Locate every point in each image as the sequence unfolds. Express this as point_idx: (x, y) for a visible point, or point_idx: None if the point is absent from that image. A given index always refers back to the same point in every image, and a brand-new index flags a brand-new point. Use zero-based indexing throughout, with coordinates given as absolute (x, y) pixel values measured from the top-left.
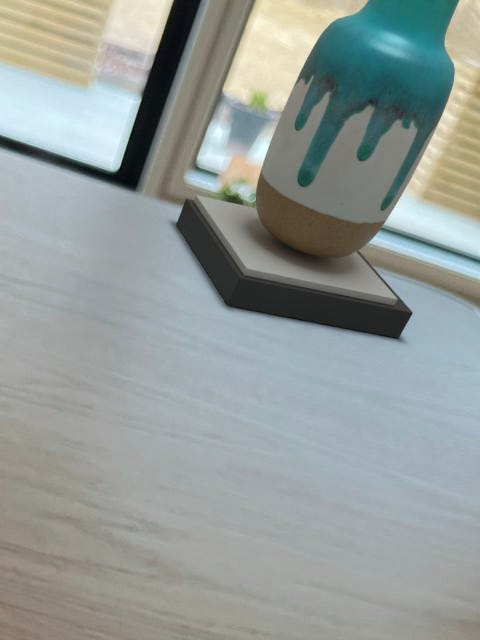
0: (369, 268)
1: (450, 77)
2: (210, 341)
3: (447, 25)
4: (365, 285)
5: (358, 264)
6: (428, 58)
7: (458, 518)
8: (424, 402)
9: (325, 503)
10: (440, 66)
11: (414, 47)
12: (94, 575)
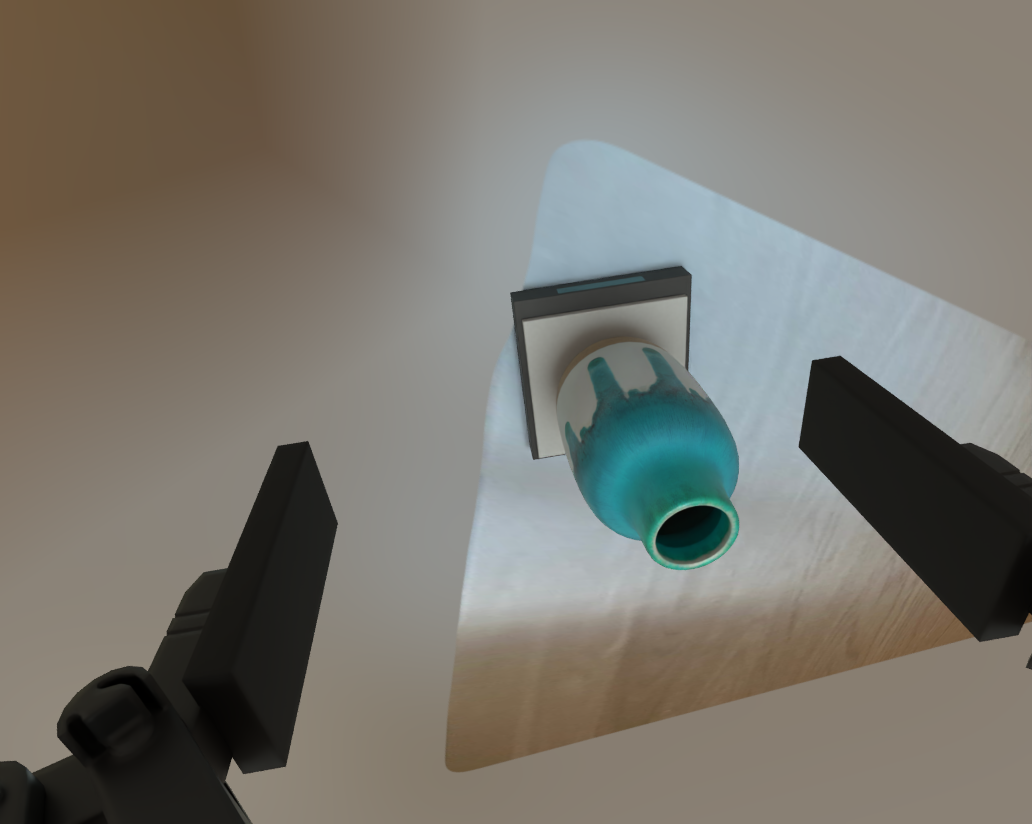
0: (624, 308)
1: (724, 433)
2: (739, 441)
3: (714, 477)
4: (671, 326)
5: (620, 319)
6: (732, 473)
7: (941, 308)
8: (794, 279)
9: (919, 399)
10: (734, 456)
11: (726, 491)
12: None
